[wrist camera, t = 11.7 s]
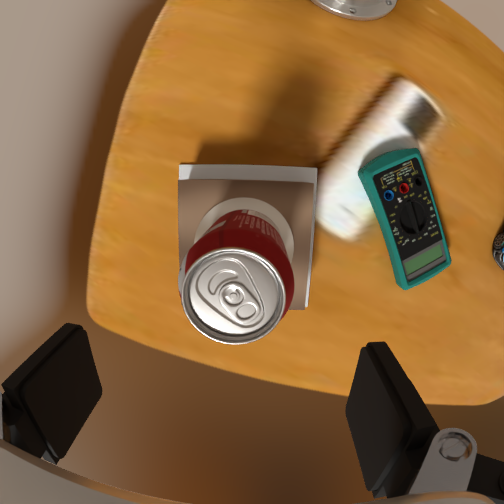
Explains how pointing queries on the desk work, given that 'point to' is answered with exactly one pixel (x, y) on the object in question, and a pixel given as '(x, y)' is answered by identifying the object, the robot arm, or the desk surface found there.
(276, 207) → the plinth
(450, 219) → the desk surface
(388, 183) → the digital multimeter
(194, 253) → the soda can
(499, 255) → the toy car
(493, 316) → the desk surface
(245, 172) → the white square slab
